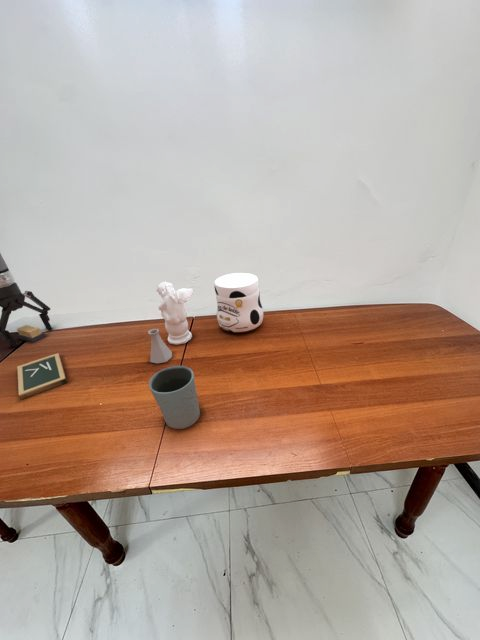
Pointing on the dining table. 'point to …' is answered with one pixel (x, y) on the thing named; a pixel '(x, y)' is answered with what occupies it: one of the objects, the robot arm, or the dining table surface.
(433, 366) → the dining table surface
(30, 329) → the eraser
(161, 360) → the flask
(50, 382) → the slate
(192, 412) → the grey cup
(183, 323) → the cherub figurine
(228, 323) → the milk container
